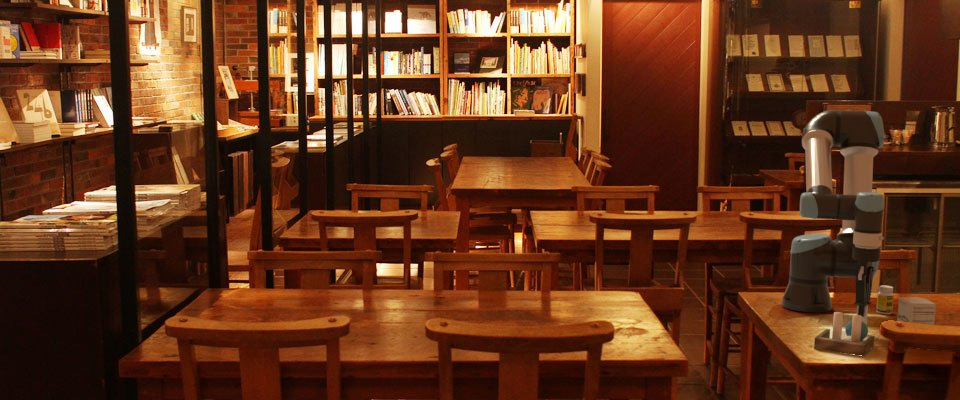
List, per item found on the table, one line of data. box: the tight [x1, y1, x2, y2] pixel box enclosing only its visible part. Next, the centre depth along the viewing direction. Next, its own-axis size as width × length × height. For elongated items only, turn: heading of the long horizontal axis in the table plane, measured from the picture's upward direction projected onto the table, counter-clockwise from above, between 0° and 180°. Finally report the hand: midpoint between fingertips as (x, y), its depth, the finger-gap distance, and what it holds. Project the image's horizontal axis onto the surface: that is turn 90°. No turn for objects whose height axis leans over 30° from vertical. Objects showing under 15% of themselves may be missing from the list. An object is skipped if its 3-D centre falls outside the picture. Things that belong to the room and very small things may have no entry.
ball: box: [844, 320, 869, 341], centre depth 290 cm, size 6×6×6 cm
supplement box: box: [896, 296, 937, 326], centre depth 288 cm, size 7×7×13 cm
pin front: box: [842, 336, 851, 342], centre depth 284 cm, size 2×2×9 cm
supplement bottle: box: [876, 285, 895, 315], centre depth 325 cm, size 5×5×8 cm
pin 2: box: [851, 314, 862, 343], centre depth 283 cm, size 2×2×9 cm
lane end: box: [813, 328, 876, 357], centre depth 283 cm, size 13×12×3 cm
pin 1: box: [831, 311, 844, 340], centre depth 286 cm, size 2×2×9 cm
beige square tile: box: [841, 330, 879, 343], centre depth 294 cm, size 10×10×1 cm
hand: (861, 326), depth 299 cm, fingers closed
